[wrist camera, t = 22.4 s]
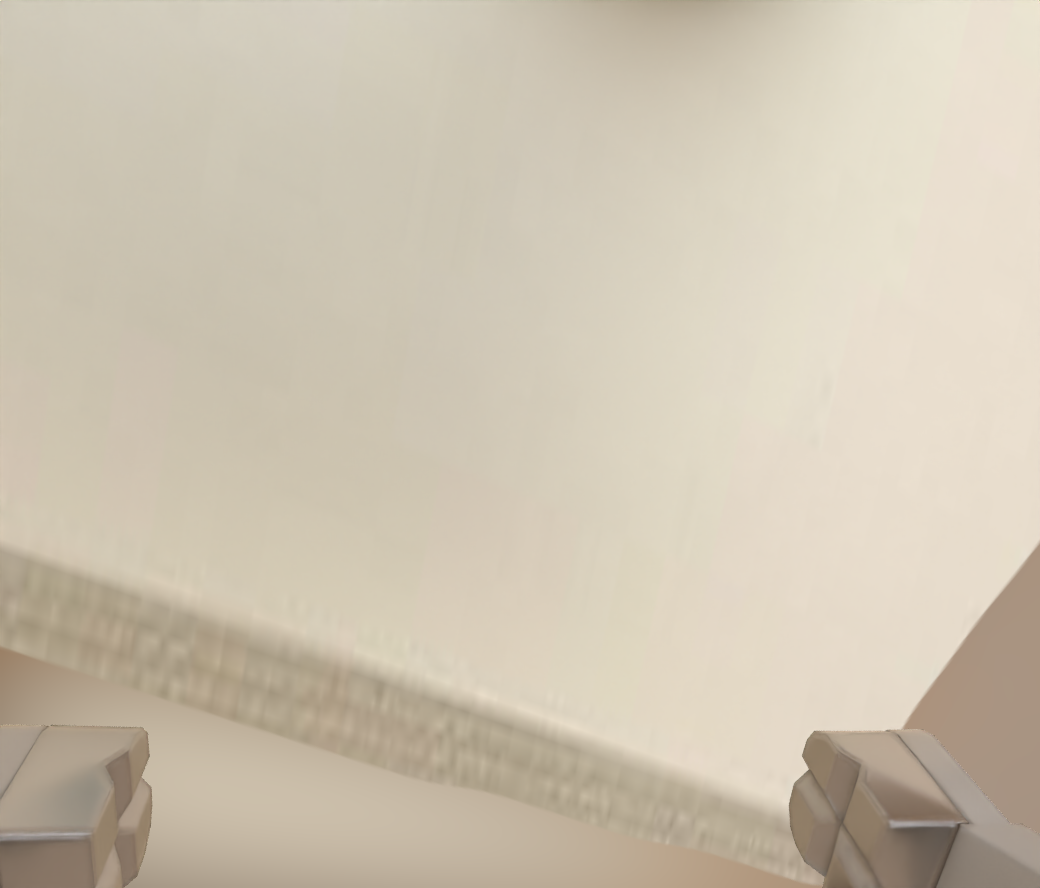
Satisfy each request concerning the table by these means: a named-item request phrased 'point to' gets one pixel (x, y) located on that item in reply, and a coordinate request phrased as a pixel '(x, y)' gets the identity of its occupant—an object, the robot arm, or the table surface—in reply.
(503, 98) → the table surface
